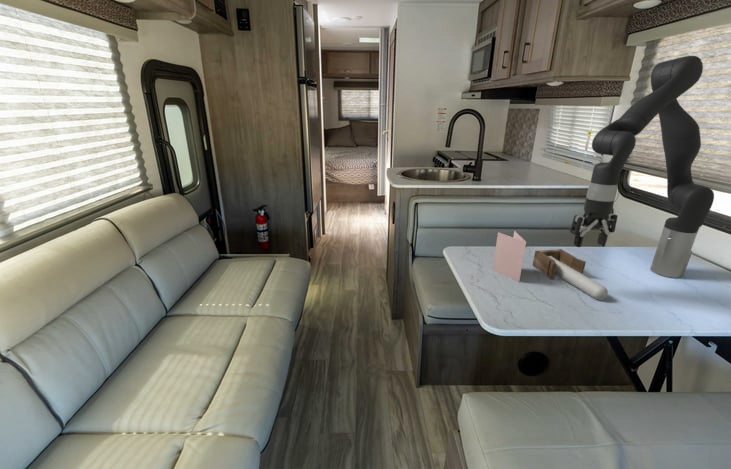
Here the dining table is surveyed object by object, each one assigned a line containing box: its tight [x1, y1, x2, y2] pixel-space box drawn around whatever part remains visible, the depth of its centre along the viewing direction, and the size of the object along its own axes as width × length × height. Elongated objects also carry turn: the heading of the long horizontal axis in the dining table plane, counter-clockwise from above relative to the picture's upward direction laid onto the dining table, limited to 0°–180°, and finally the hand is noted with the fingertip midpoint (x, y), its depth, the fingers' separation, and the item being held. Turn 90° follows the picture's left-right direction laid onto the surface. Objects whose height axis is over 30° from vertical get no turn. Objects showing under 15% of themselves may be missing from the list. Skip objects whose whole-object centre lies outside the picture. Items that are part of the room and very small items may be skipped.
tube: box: [548, 256, 609, 301], centre depth 123 cm, size 5×5×25 cm
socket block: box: [532, 248, 587, 281], centre depth 132 cm, size 13×12×6 cm
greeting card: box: [492, 230, 528, 283], centre depth 127 cm, size 11×7×15 cm, turn 178°
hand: (589, 245), depth 116 cm, fingers open, 8 cm apart
